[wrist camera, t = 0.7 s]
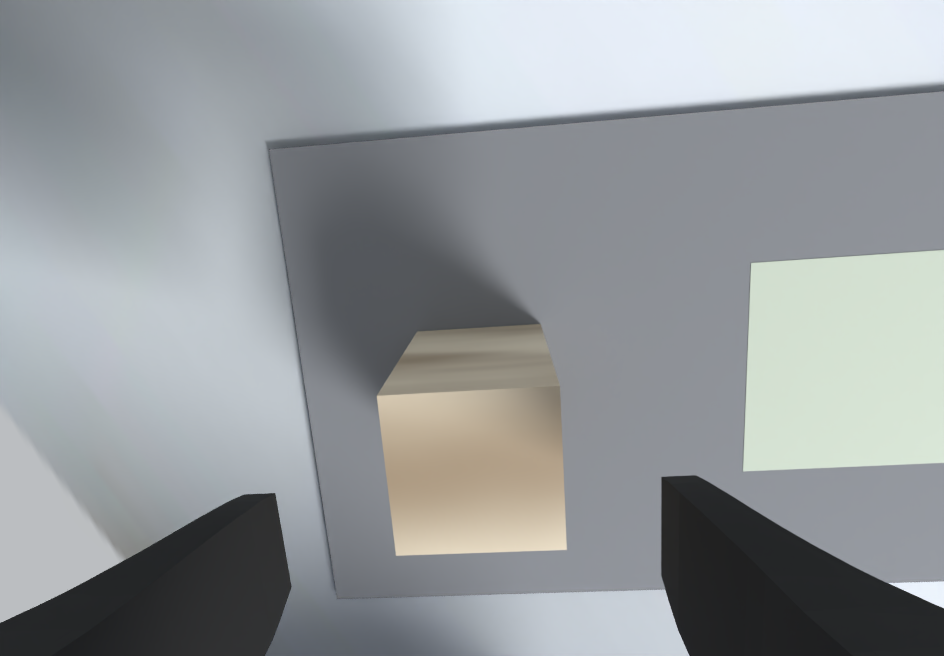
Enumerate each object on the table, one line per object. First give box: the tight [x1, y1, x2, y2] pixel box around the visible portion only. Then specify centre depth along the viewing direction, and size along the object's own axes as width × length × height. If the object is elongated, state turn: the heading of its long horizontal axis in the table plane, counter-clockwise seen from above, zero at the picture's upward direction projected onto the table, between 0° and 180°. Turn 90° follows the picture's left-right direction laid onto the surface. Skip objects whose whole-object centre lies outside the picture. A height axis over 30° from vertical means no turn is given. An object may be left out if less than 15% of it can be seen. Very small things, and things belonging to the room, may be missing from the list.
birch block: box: [377, 324, 567, 556], centre depth 15 cm, size 4×4×6 cm
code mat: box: [269, 91, 944, 599], centre depth 18 cm, size 16×24×1 cm, turn 94°
